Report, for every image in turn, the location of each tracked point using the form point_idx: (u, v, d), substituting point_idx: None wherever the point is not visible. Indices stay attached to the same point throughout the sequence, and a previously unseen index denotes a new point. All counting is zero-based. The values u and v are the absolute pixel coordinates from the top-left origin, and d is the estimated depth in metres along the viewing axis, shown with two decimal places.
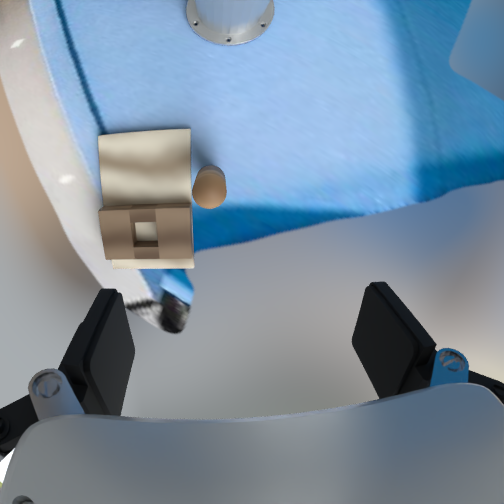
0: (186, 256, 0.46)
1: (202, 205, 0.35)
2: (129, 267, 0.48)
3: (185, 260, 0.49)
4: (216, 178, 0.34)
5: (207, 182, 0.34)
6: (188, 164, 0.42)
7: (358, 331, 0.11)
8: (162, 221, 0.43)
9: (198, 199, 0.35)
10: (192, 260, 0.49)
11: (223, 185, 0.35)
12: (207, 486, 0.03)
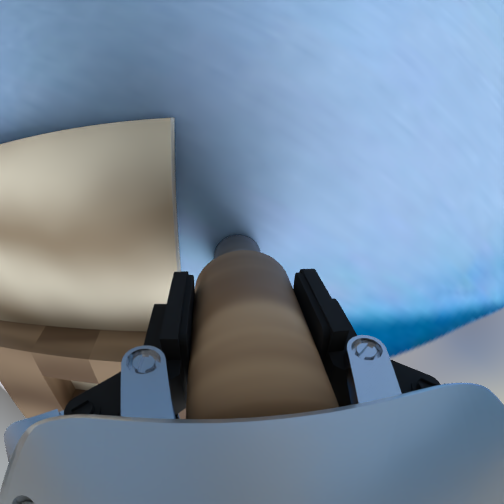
0: None
1: None
2: None
3: None
4: (309, 405, 0.06)
5: None
6: (168, 233, 0.14)
7: None
8: None
9: None
10: None
11: None
12: (207, 486, 0.03)
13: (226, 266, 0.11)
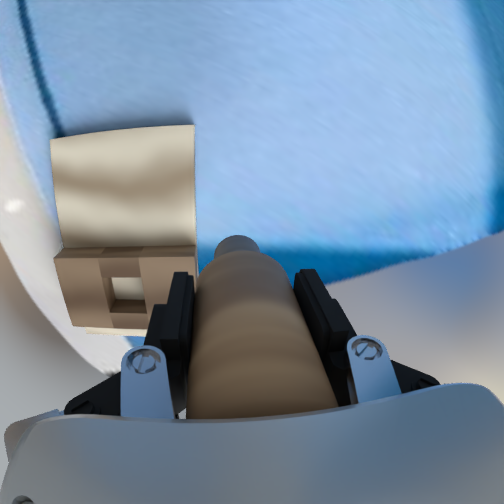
0: None
1: None
2: (108, 333, 0.32)
3: None
4: (309, 404, 0.06)
5: None
6: (191, 183, 0.26)
7: None
8: (151, 276, 0.26)
9: None
10: None
11: None
12: (207, 486, 0.03)
13: (226, 266, 0.11)
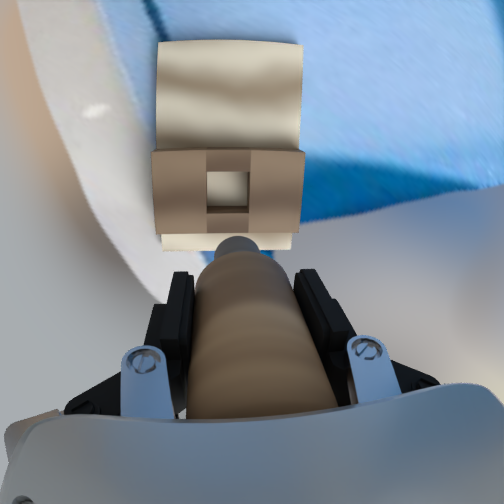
0: (290, 229, 0.30)
1: None
2: (189, 249, 0.33)
3: (279, 237, 0.33)
4: (309, 406, 0.06)
5: None
6: (299, 92, 0.27)
7: None
8: (261, 171, 0.27)
9: None
10: (290, 237, 0.33)
11: None
12: (207, 486, 0.03)
13: (226, 267, 0.11)
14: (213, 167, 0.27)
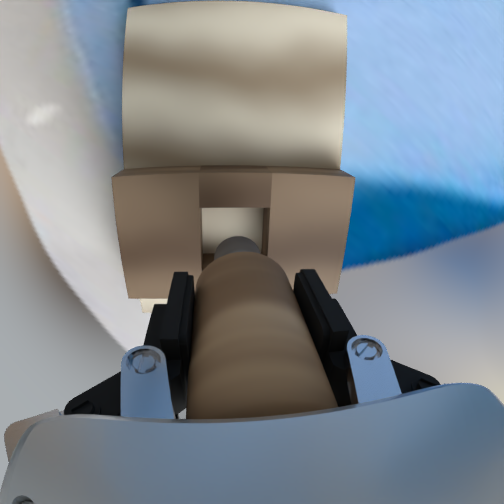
0: None
1: None
2: None
3: None
4: (309, 406, 0.06)
5: None
6: (342, 84, 0.17)
7: None
8: (287, 206, 0.17)
9: None
10: None
11: None
12: (207, 486, 0.03)
13: (226, 268, 0.11)
14: (211, 201, 0.17)
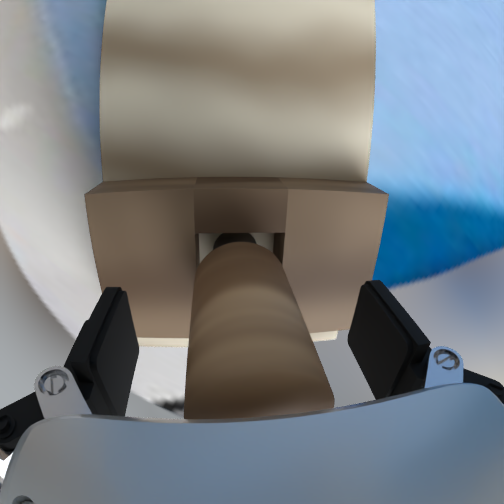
0: (347, 324, 0.17)
1: None
2: (175, 344, 0.19)
3: None
4: (300, 378, 0.07)
5: (253, 393, 0.07)
6: (370, 78, 0.13)
7: (353, 329, 0.12)
8: (306, 231, 0.14)
9: None
10: None
11: (326, 395, 0.07)
12: (207, 486, 0.03)
13: (224, 256, 0.12)
14: (209, 224, 0.13)
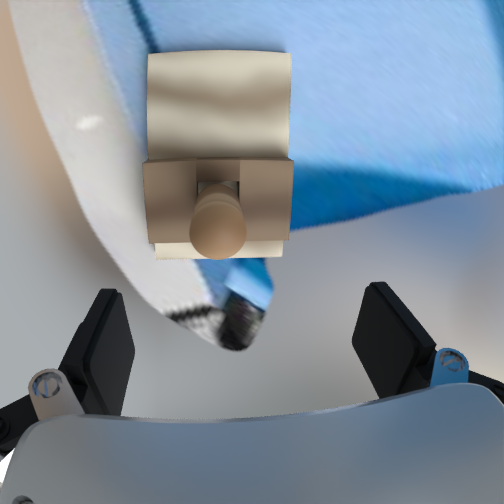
0: (281, 237, 0.31)
1: (206, 254, 0.22)
2: (182, 257, 0.33)
3: (271, 245, 0.34)
4: (229, 210, 0.21)
5: (214, 217, 0.21)
6: (287, 101, 0.27)
7: (358, 330, 0.11)
8: (250, 180, 0.28)
9: (200, 245, 0.21)
10: (281, 245, 0.34)
11: (241, 222, 0.21)
12: (207, 486, 0.03)
13: (209, 188, 0.26)
14: (203, 177, 0.27)
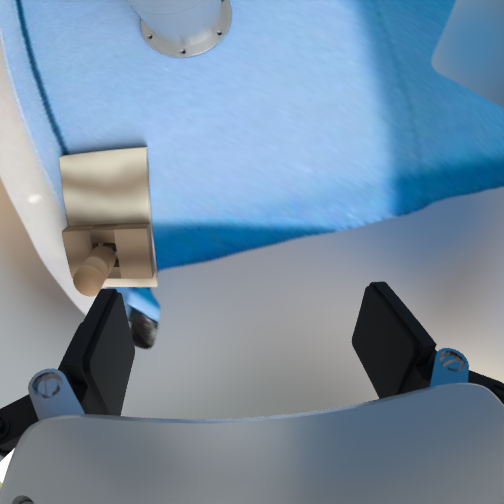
0: (147, 276, 0.44)
1: (83, 293, 0.35)
2: None
3: (148, 279, 0.47)
4: (89, 272, 0.34)
5: (82, 274, 0.34)
6: (145, 184, 0.41)
7: (358, 331, 0.11)
8: (121, 242, 0.41)
9: (79, 288, 0.35)
10: (155, 279, 0.47)
11: (96, 277, 0.34)
12: (207, 486, 0.03)
13: (94, 249, 0.39)
14: (94, 240, 0.41)
